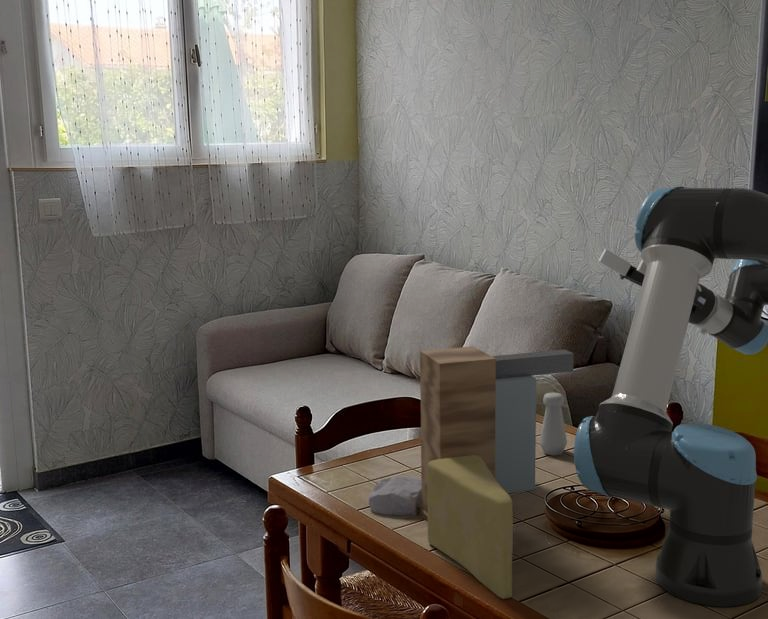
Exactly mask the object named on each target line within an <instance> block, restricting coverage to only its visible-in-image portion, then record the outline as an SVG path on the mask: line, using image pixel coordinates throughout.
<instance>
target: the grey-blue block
mask: <svg viewBox="0 0 768 619" xmlns="http://www.w3.org/2000/svg"><path fill="white" fill-rule="evenodd" d="M536 433H537V378H536V377H534V376H525V377H514V378H504V379H496V409H495V479H496V481H497V482H498V483H499V485H500V486H501V487H502V488H503V489H504V490H505V491H506V492H507V493H508V494H515V493H522V492H529V491H535V490H536V446H537V444H536V440H537V436H536V435H537V434H536Z"/></svg>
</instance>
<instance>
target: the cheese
mask: <svg viewBox="0 0 768 619" xmlns="http://www.w3.org/2000/svg"><path fill="white" fill-rule="evenodd" d="M427 497H428V522H427V541H428V543H429V544H430V545H431V546H433V547H434V548H436V549H437V550H438V551H440V552H441V553H444V555H446V556H448V557H449V558H451V559H452V560H454V561H455V562H457V563H458V564H460V565H461V566H462V567H463V568H465V569H466V570H467V571H468V572H469V573H470V574H472V575H473V576H474V578H475V579H476V580H477V581H478V582H480V584H482V585H484V586H485V587H486V588H487V589H488V590H490V591H491V592H492V593H493V594H495V595H496V596H497V597H499V598H500V599H502V600H505V599H510V598H512V597H513V547H514V544H513V543H514V525H513V524H514V522H513V521H514V520H513V500H512V498H511V496H510V495H509V493H507V492H506V491H505V490H504V489H503V488H502V487H501V486H500V485H499V483H498V482H497V481H496V479H495V478H494V477H493V475H492V474H491V472H490V471H489V469H488V467H487V466H486V464H485V462H484V461H483V459H482V458H481V457H480V456H477V455H469V456H461V457H453V458H445V459H437V460H433V461H430V462H429V463H428V464H427Z"/></svg>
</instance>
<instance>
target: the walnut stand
mask: <svg viewBox="0 0 768 619" xmlns="http://www.w3.org/2000/svg"><path fill="white" fill-rule="evenodd" d="M492 356H493V355H489V354H488V353H487V352H484V351H483V350H480V349H479V348H477V347H475V346H473V345H471V346H461V347H451V348H440V349H438V348H437V349H428V350H419V364H420V365H419V368H420V370H419V371H420V372H419V373H420V377H419V378H420V380H419V382H420V390H419V392H420V460H421V461H420V462H421V464H420V466H421V472H420V474H421V475H420V476H421V478H420V479H421V481H422V505H421V506H418V512H417V513H419V515H421V517H422V518H423V519H424V520H425V521H426V522H427V523H428V497H427V464H428V463H429V462H430V461H433V460H437V459H445V458H453V457H461V456H469V455H477V456H480V457H481V458H482V459H483V461H484V462H485V464H486V466H487V467H488V469H489V471H490V472H491V474H492V475H493V477H494V478H495V409H496V359H495V358H494V357H492Z"/></svg>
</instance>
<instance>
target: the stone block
mask: <svg viewBox="0 0 768 619" xmlns="http://www.w3.org/2000/svg"><path fill="white" fill-rule="evenodd" d="M368 505H369V507H370V508H369V509H370V510H371V511H372V512H373V513H376V514H381V515H382V514H383V515H400V516H416V515H417V514H418V513H419V512H418V506H422V481H421V478H418V477H413V476H411V475H409V476H407V475H398V476H397V475H395V476H393V477H388V478H384V479H381V480H380V481H379V483H377V484H376V485H375V486H374V488H373V489H372V491H371V492H370V493H369V496H368Z"/></svg>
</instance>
